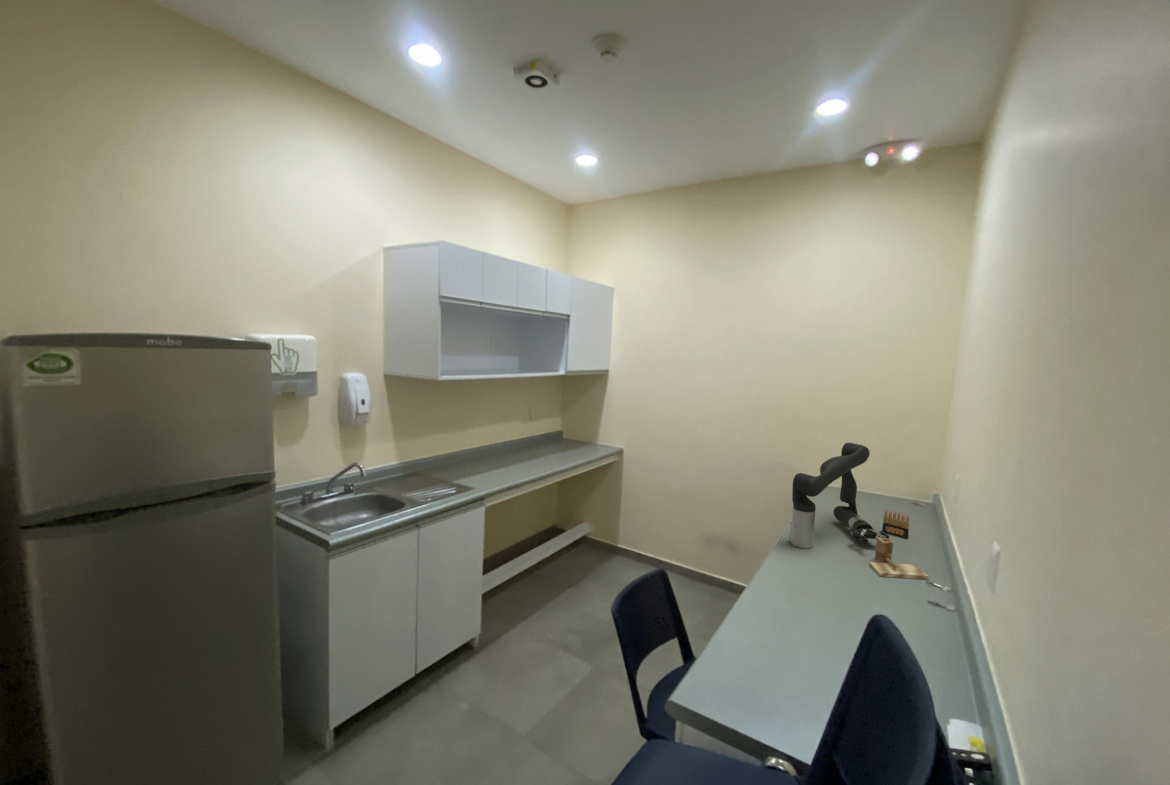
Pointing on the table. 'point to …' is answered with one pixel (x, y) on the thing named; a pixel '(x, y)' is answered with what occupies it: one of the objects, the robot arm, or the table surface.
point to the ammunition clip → (896, 525)
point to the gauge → (884, 551)
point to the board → (898, 570)
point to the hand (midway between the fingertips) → (877, 542)
